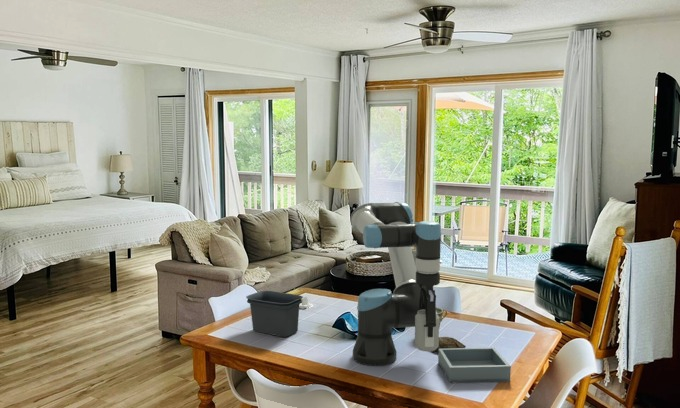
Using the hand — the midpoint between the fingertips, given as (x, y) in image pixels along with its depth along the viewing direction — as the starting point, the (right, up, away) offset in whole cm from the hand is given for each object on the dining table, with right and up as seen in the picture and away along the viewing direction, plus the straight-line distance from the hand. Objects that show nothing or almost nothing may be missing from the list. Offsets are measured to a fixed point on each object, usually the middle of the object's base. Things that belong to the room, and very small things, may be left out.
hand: (426, 341), depth 176 cm
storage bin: (-53, -7, +44) cm, 69 cm away
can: (0, -2, 0) cm, 2 cm away
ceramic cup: (+8, -7, +39) cm, 41 cm away
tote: (+15, -11, +3) cm, 19 cm away
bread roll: (+11, -9, +24) cm, 28 cm away
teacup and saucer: (-47, -4, +77) cm, 90 cm away
